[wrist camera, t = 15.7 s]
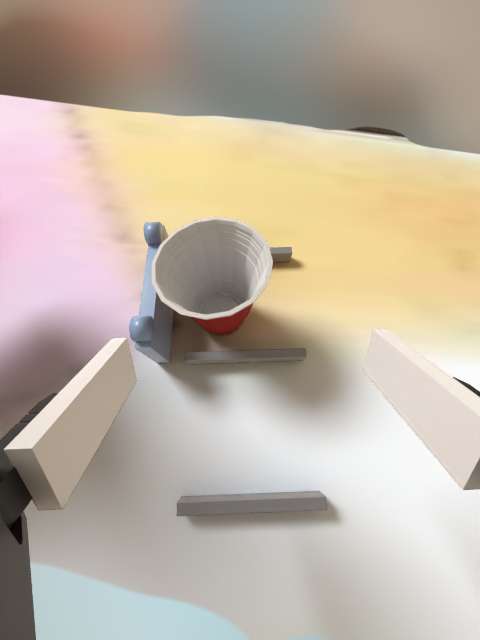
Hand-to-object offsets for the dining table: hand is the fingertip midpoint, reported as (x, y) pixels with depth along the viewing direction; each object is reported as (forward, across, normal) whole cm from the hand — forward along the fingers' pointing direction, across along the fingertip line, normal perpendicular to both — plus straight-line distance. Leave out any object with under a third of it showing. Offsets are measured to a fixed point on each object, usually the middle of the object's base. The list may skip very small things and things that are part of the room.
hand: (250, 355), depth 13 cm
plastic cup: (+19, -3, -5) cm, 19 cm away
